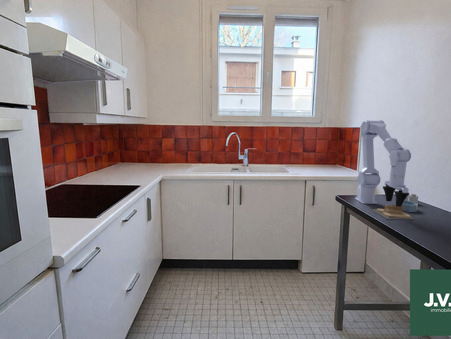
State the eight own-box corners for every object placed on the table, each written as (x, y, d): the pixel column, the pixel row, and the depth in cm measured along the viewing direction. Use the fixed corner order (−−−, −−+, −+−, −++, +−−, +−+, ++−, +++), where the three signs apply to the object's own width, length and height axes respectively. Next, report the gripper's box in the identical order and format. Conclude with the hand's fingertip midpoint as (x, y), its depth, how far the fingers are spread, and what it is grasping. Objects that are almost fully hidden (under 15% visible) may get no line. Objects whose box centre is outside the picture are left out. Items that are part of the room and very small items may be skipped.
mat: (371, 209, 131) (371, 209, 131) (397, 210, 131) (397, 209, 131) (386, 219, 118) (386, 218, 118) (415, 219, 118) (415, 218, 118)
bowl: (393, 206, 136) (394, 200, 136) (409, 206, 136) (410, 200, 136) (403, 211, 129) (404, 205, 128) (420, 212, 128) (421, 205, 128)
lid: (376, 210, 130) (377, 202, 129) (396, 210, 130) (397, 202, 129) (388, 217, 120) (389, 209, 119) (410, 217, 120) (411, 209, 119)
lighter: (415, 203, 142) (417, 189, 141) (417, 204, 141) (419, 189, 139) (401, 202, 144) (403, 188, 142) (402, 203, 142) (404, 189, 141)
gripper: (417, 179, 114) (412, 208, 117) (396, 172, 128) (392, 199, 131) (400, 178, 114) (396, 208, 117) (381, 172, 128) (378, 198, 131)
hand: (393, 203), depth 124 cm, fingers open, 7 cm apart
